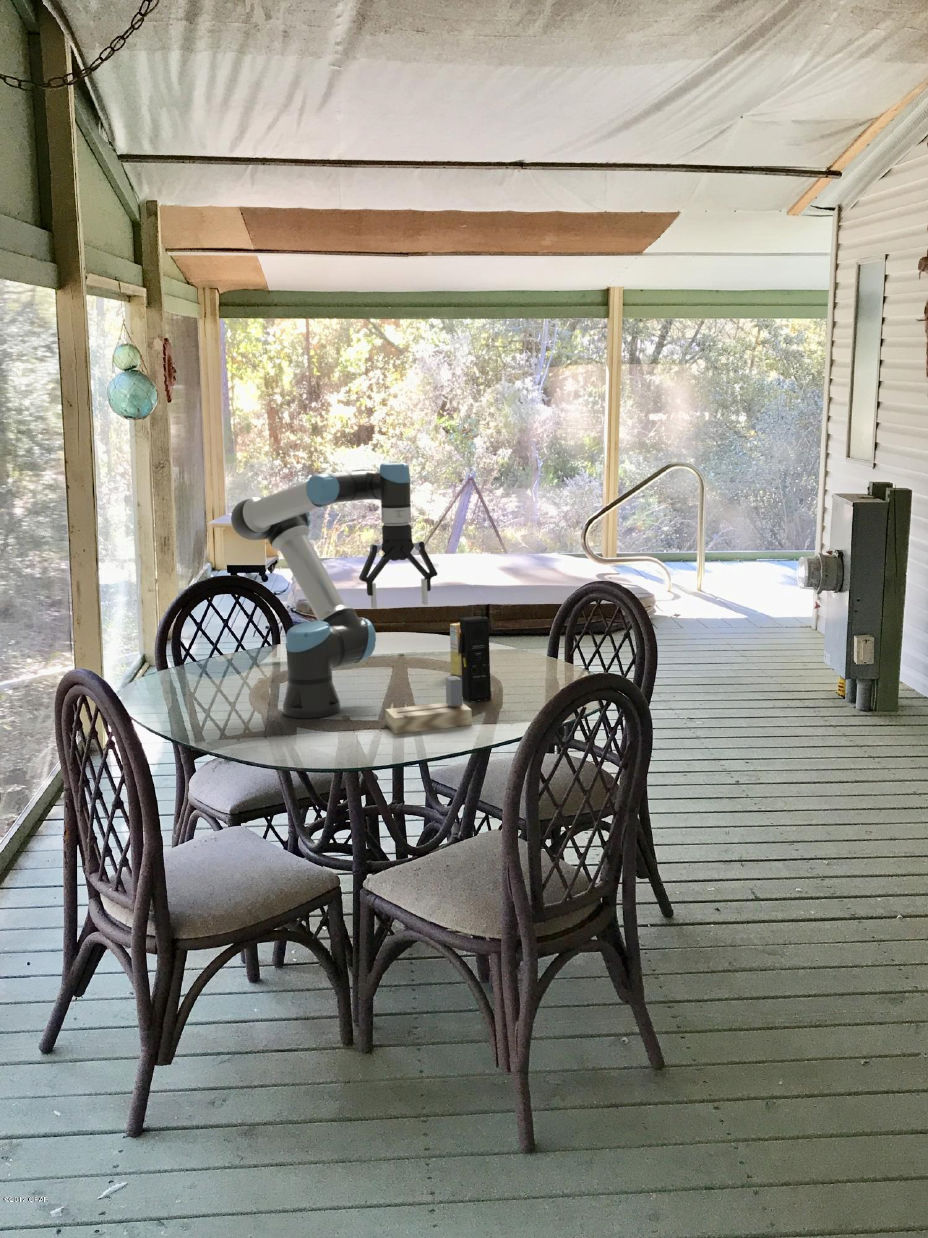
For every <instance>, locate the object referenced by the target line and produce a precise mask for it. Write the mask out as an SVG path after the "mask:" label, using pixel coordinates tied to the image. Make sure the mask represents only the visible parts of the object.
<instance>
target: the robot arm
mask: <svg viewBox="0 0 928 1238" xmlns="http://www.w3.org/2000/svg"><path fill="white" fill-rule="evenodd" d="M410 476H411V474H410V467H409V465H408V464H407V463H406V462H385V463H381V464H380V466H379V470H370V469H363V468H362V469H354V470H351V471H343V472H329V473H328V472H322V473H319V474H313V475H312V476H310V477H309V479H308V480H307V481H305V482H302V483H298V484H296V485H293V486H291V487H287V488H286V489H283V490H280V491H278V492H275V493H273V494H270V495H266V496H264V497H256V496H255V497H251V498H247V499H243V500H241V501H240V502H238V503H237V504H236V505H235V507H233V510H232V512H231V515H230V521H231V522H230V523H231V526H232V528H233V530H234V532H235V533H236V534H238V536H240V537H241V538H243V539H246V540H248V541H249V540H250V541H260V540H261V541H262V540H268V542H269V544H270V546H271V548H272V549H273V550H274V551H277V552H280V553H281V555H282V556H283V558H284V560H285V562H286V564H287V566H288V568H289V569H290V572H291V573H292V575H293V577H294V578H295V581H296V582H297V585H298V586H299V588H300V590H301V591H302V593H303V595H304V597H305V599H306V601H307V602H308V605H309V607H310V609H311V610H312V613H313V614H314V615H315V618H316V620H313V621H308V622H302V623H298V624H295V625H293V626H292V627H290V628H288V630H287V632H286V635H285V637H286V638H285V639H286V640H285V650H286V662H287V681H288V682H287V683H288V684H287V688H286V692H285V695H284V696H285V697H284V699H283V703H282V712H283V714H284V715H285V716H287V717H290V718H296V719H317V718H324V717H329V716H332V715H336V714H337V713H339V712H340V711H341V700H340V698H339V696H338V693H337V691H336V687H335V685H334V682H333V681H334V680H333V669H334V668H339V667H343V666H347V665H352V664H357V663H360V662H362V661H365V660H367V659H368V658H370V657H371V656H372V654H373V652H374V651H375V648H376V642H377V634H376V630H375V627H374V625H373V624H372V622H371V621H370V620H369V619H368V618H365V617H358V614H357V612H356V611H355V609H354V608H353V607H350V606H346V604H345V603H344V600H343V599H342V596H341V595H340V593H339V591H338V590H337V588H336V586H335V584H334V582H333V581H332V579H331V577H330V575H329V573H328V571H327V569H326V567H325V565H324V564H323V562H322V561H321V559H320V557H319V555H318V552H317V551H316V550H315V548H314V545H313V544H312V543H311V541H310V539H309V534H310V532H311V531H310V530H311V529H310V526H311V518H310V516H311V515H310V512H312V511H314V510H318V509H321V508H324V507H327V506H330V505H333V504H338V503H346V502H347V503H348V502H355V501H364V500H375V501H376V500H378V501H380V504H381V505H380V507H381V523H382V524H383V525H382V526H381V532H382V533H381V534H382V535H381V538H382V539H381V540H382V543H381V544H375V543H371V544H370V548H369V554H368V555H367V558H366V560H365V563H364V565H363V567H362V570H361V573H360V575H359V577H358V579H359V580H360V582H365V583H366V594H367V595H368V597H369V596H370V605H371V608H372V609H377V583H376V582H374V581H375V580H376V578H378V576H379V575H380V574H381V571H383V569H384V568H385V566H386V565H387V564H388V563H389V562H390V561H393V562H396V561H405V560H406V559H407V560H408V561H409V562H410V563H411V565H413V566H414V568H415V569H416V570H417V571H418V572H419V573H420V574H421V575H422V576H423V578H420V584H421V585H420V586H421V604H423V605H428V604H429V603H428V600H429V599H428V592H431V590H432V587H431V586H432V585H431V580H432V578H434V577H436V576H438V572H437V569H436V568H435V566H434V564H433V562H432V560H431V558H430V556H429V555H428V553H427V551H426V548H425V542H424V541H422V540H418V541H415V542H413V538H412V537H413V536H412V535H413V533H412V529H413V528H412V524H410V523H411V522H412V511H411V508H412V506H411V477H410ZM414 549H415V550H416V551H418V553H419V555H420V556H421V558H422V561H423V562H424V564H425V566H426V567H427V569H428V571H427V570H426V568H424V566H423V565H422V564H421V563H420V562H419V561H418V559H416V557H415V556H414V555H413V554H412V551H413V550H414ZM380 551H382V552H383V553H384V554H383V555H382V556H381V558H380V560H379V561H378V563H376V566H375V567H374V568H373V569H372V567H373V564H374V562H375V560H376V557H377V555H378V554H379V553H380ZM371 569H372V570H371Z"/></svg>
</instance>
